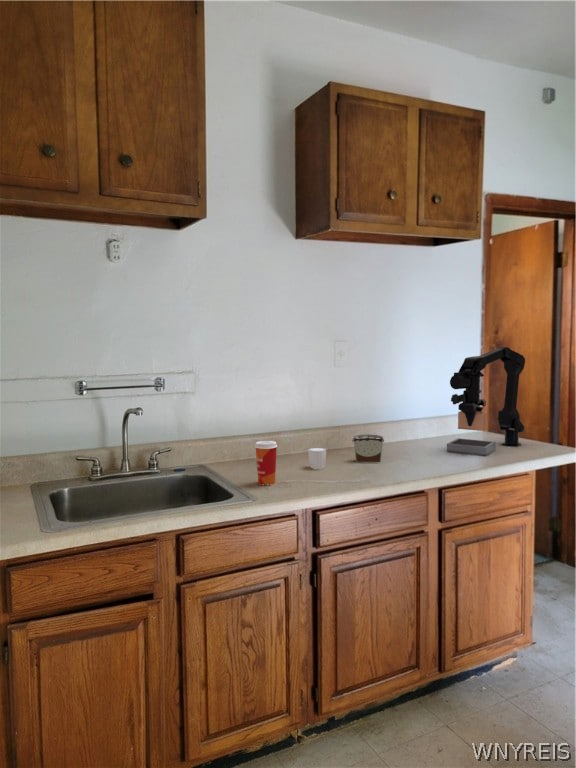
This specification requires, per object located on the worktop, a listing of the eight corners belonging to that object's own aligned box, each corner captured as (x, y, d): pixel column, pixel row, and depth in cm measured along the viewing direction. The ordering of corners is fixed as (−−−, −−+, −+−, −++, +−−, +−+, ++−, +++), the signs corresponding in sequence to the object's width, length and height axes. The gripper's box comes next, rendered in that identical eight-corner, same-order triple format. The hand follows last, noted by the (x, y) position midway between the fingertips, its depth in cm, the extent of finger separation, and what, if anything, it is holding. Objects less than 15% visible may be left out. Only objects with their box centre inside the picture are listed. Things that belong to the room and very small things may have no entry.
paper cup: (255, 480, 197) (254, 440, 196) (277, 480, 198) (276, 440, 197) (255, 487, 189) (254, 445, 188) (278, 486, 190) (278, 444, 189)
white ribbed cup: (328, 466, 217) (328, 448, 216) (323, 470, 211) (323, 451, 210) (311, 465, 219) (311, 447, 219) (306, 469, 213) (305, 450, 212)
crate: (457, 446, 251) (457, 438, 250) (495, 450, 242) (495, 441, 241) (446, 452, 239) (447, 443, 239) (486, 456, 230) (486, 447, 230)
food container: (383, 459, 228) (383, 434, 227) (384, 462, 222) (384, 437, 221) (352, 458, 229) (351, 434, 228) (352, 462, 223) (352, 436, 222)
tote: (462, 426, 245) (462, 410, 244) (486, 428, 239) (486, 412, 238) (457, 428, 240) (458, 412, 239) (482, 430, 234) (482, 413, 233)
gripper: (460, 385, 250) (459, 420, 251) (446, 389, 235) (445, 426, 236) (486, 386, 244) (485, 422, 245) (473, 390, 228) (473, 429, 230)
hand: (472, 425), depth 239 cm, fingers closed on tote, 6 cm apart
